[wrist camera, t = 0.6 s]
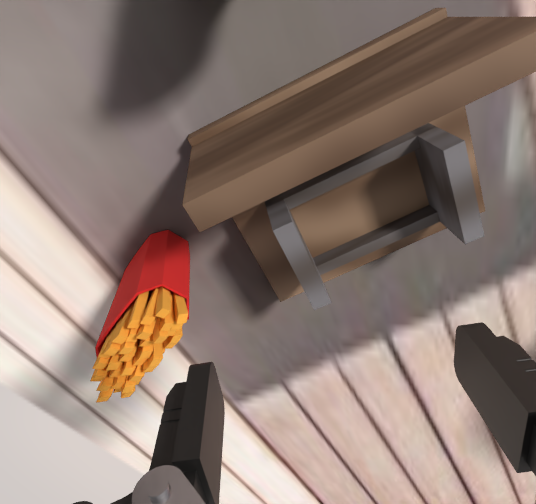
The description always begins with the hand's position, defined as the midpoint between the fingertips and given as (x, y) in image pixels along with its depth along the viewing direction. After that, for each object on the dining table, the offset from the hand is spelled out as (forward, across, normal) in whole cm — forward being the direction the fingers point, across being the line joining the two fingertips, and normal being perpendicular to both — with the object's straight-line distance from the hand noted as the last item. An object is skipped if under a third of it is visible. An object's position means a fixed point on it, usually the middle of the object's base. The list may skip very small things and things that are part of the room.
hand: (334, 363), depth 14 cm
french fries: (+23, +12, +6) cm, 26 cm away
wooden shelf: (+23, -5, +1) cm, 24 cm away
